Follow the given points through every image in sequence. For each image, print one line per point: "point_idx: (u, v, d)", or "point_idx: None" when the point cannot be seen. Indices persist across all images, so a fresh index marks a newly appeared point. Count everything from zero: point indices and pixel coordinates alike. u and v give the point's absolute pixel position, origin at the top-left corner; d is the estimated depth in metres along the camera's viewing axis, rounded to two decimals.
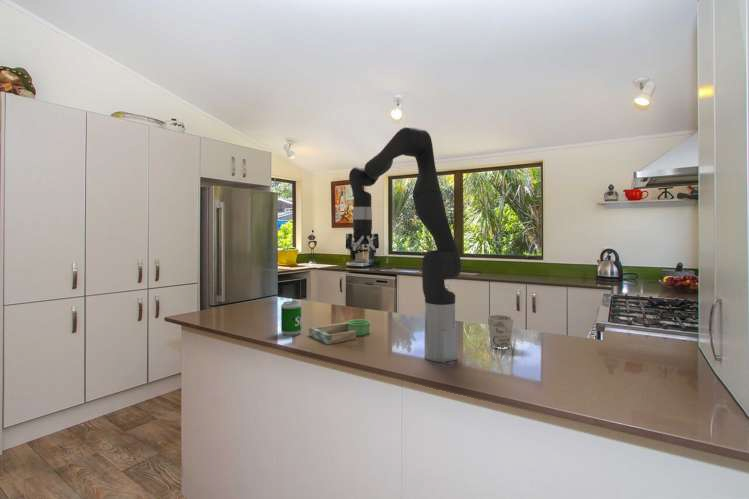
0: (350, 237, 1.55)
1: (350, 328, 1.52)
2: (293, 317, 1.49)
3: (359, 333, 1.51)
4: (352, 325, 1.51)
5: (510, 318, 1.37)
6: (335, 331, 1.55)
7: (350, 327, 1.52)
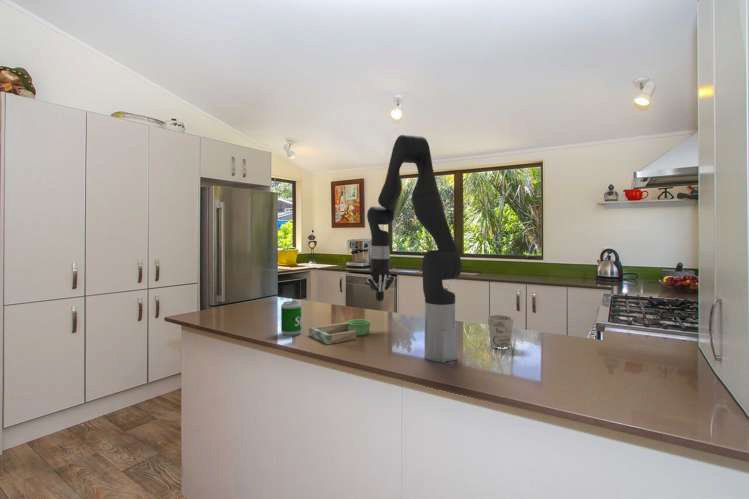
0: (371, 282, 1.56)
1: (350, 328, 1.52)
2: (293, 317, 1.49)
3: (359, 333, 1.51)
4: (352, 325, 1.51)
5: (510, 318, 1.37)
6: (335, 331, 1.55)
7: (350, 327, 1.52)
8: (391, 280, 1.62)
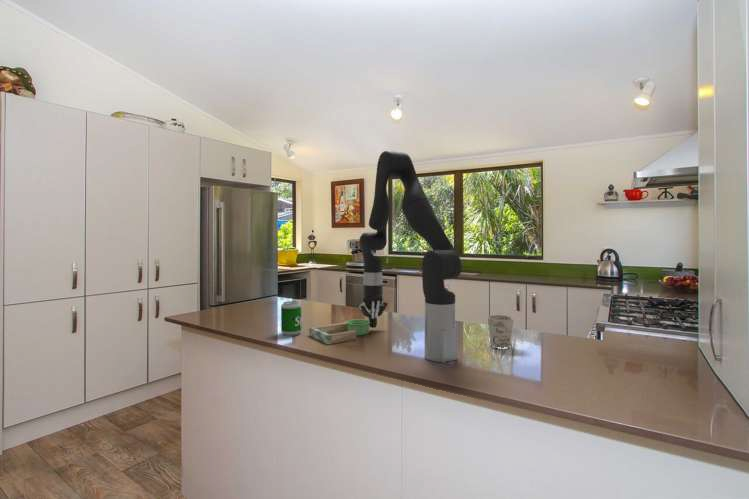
0: (363, 308, 1.54)
1: (349, 328, 1.52)
2: (293, 317, 1.49)
3: (358, 333, 1.51)
4: (351, 325, 1.51)
5: (510, 318, 1.37)
6: (335, 331, 1.55)
7: (349, 327, 1.52)
8: (384, 306, 1.60)
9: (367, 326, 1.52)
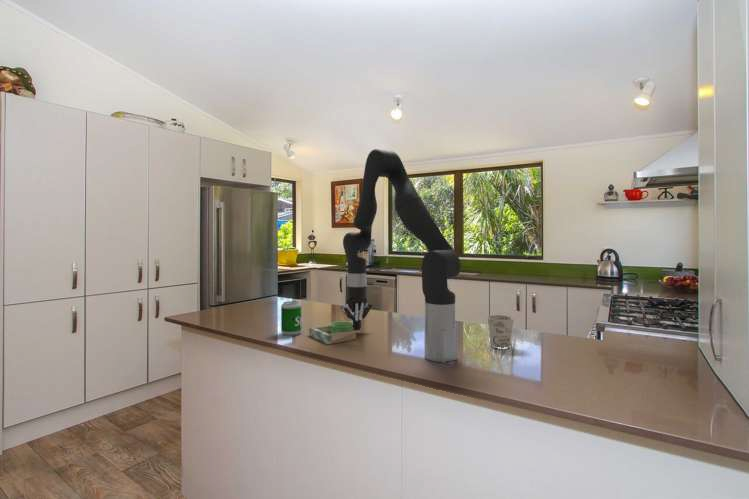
0: (347, 310, 1.50)
1: (332, 330, 1.48)
2: (293, 317, 1.49)
3: None
4: (334, 327, 1.47)
5: (510, 318, 1.37)
6: None
7: (332, 329, 1.48)
8: (369, 308, 1.56)
9: (350, 328, 1.48)
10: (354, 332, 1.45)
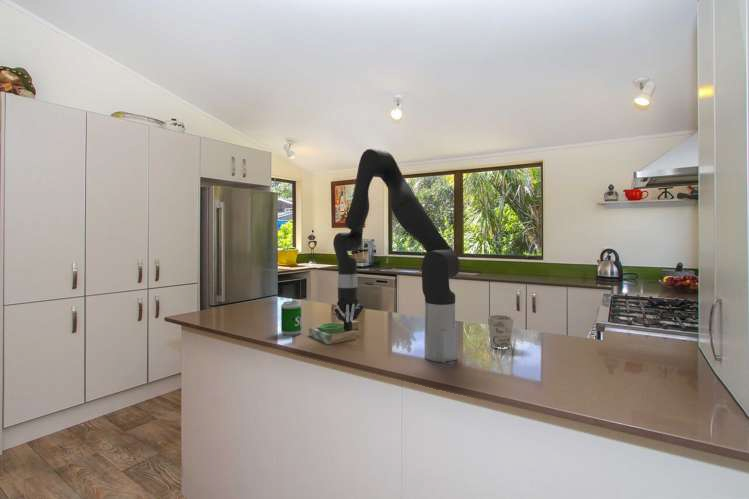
0: (337, 312, 1.48)
1: None
2: (293, 317, 1.49)
3: None
4: (323, 329, 1.45)
5: (510, 318, 1.37)
6: None
7: None
8: (360, 309, 1.53)
9: (340, 330, 1.46)
10: (354, 332, 1.45)
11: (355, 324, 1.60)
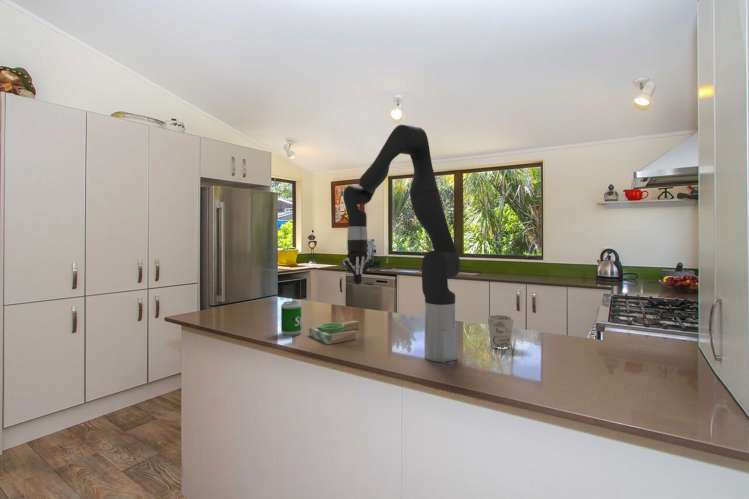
0: (347, 264, 1.49)
1: None
2: (293, 317, 1.49)
3: None
4: (323, 329, 1.45)
5: (510, 318, 1.37)
6: None
7: None
8: (369, 263, 1.55)
9: (340, 330, 1.46)
10: (354, 332, 1.45)
11: (355, 324, 1.60)
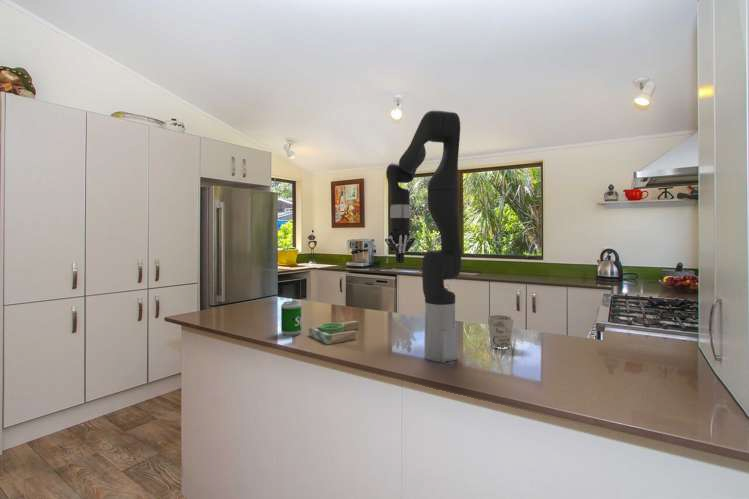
0: (391, 242, 1.48)
1: None
2: (293, 317, 1.49)
3: None
4: (323, 329, 1.45)
5: (510, 318, 1.37)
6: None
7: None
8: (411, 242, 1.54)
9: (340, 330, 1.46)
10: (354, 332, 1.45)
11: (355, 324, 1.60)
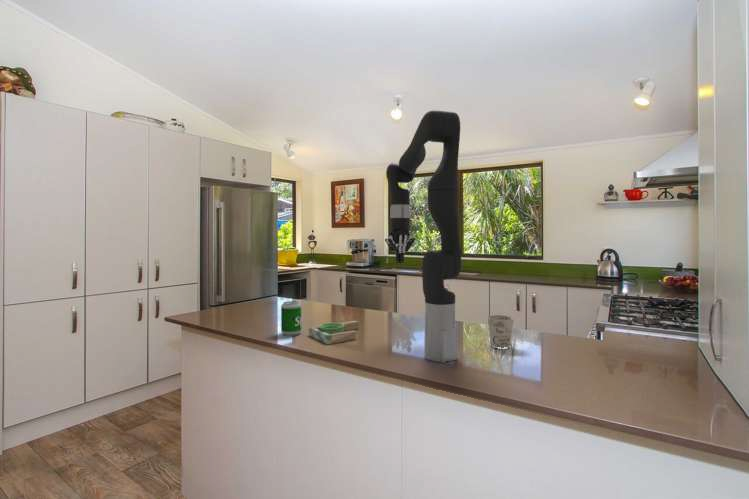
0: (391, 242, 1.48)
1: None
2: (293, 317, 1.49)
3: None
4: (323, 329, 1.45)
5: (510, 318, 1.37)
6: None
7: None
8: (411, 242, 1.54)
9: (340, 330, 1.46)
10: (354, 332, 1.45)
11: (355, 324, 1.60)
